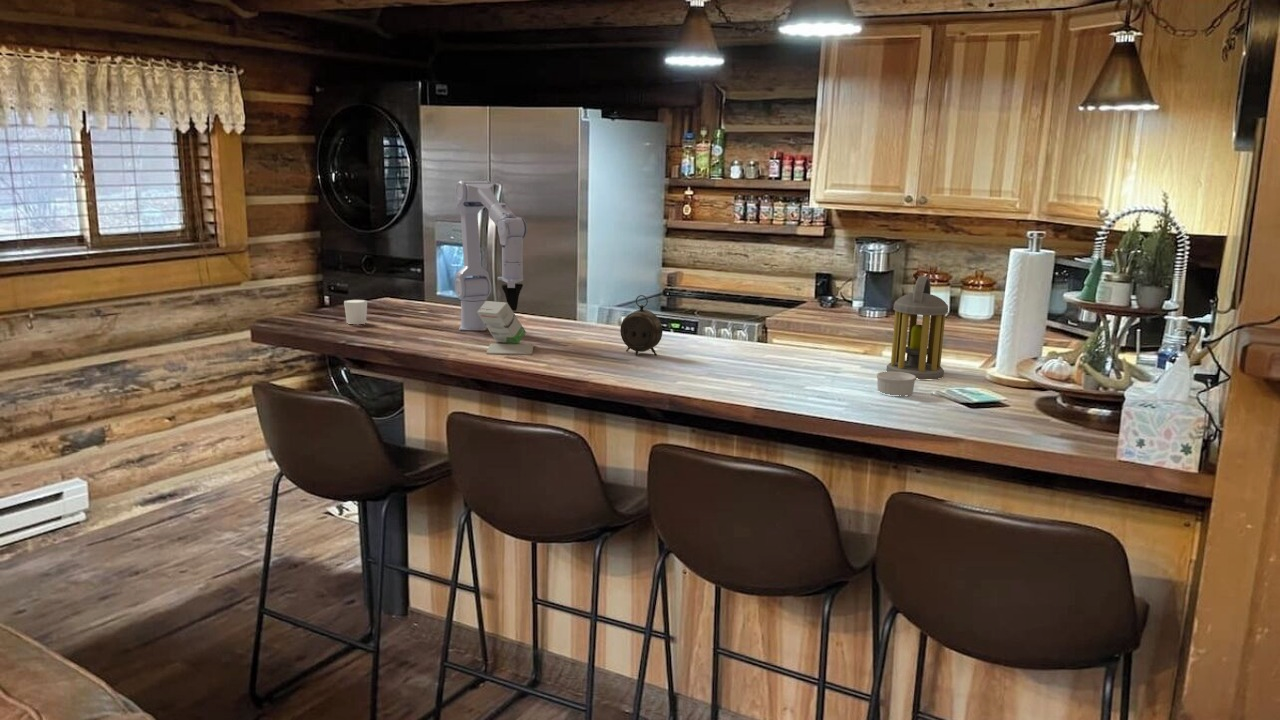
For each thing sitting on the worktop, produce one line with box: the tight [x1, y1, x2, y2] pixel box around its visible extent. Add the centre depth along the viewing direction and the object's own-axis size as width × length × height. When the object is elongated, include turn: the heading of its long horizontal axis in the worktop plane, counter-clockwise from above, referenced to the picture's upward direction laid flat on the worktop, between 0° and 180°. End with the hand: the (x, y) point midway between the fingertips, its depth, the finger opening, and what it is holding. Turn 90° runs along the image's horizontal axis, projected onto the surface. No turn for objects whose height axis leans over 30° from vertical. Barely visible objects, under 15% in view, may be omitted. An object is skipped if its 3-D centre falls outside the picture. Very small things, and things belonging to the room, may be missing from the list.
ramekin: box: [876, 371, 917, 396], centre depth 223 cm, size 9×9×4 cm
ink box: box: [477, 300, 527, 344], centre depth 264 cm, size 9×5×12 cm
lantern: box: [885, 275, 949, 380], centre depth 241 cm, size 14×14×25 cm
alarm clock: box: [620, 294, 663, 356], centre depth 256 cm, size 11×5×16 cm, turn 66°
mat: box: [486, 343, 535, 355], centre depth 259 cm, size 12×12×1 cm
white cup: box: [343, 299, 368, 325], centre depth 291 cm, size 7×7×7 cm
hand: (512, 310), depth 266 cm, fingers closed
